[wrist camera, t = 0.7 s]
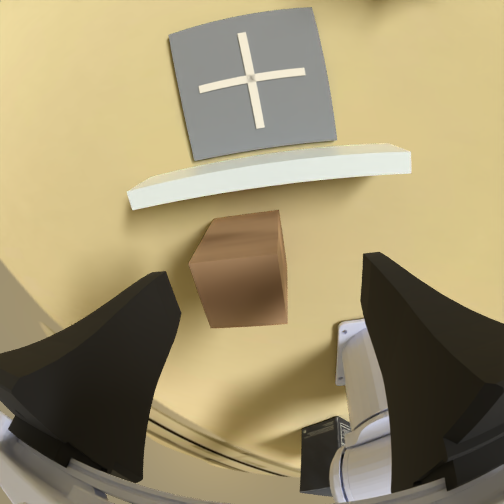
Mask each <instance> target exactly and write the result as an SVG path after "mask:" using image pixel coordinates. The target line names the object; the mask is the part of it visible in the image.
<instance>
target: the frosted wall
mask: <svg viewBox="0 0 504 504" xmlns="http://www.w3.org/2000/svg"><path fill="white" fill-rule="evenodd" d="M408 173H411V152H410V151H408V150H405V149H403V148H400V147H397V146H395V145H392V144H389V143H375V144H356V145H341V146H329V147H318V148H308V149H299V150H291V151H283V152H275V153H268V154H261V155H255V156H249V157H242V158H237V159H231V160H225V161H220V162H215V163H210V164H205V165H200V166H195V167H190V168H186V169H181V170H177V171H172V172H168V173H164V174H160V175H156V176H152V177H150V178H148V179H146V180H145V181H143V182H141V183H140V184H138V185H137V186H135V187H133V188H132V189H130V190H129V191H127V194H128V198H129V201H130V204H131V207H132V210H136V209H141V208H146V207H150V206H155V205H160V204H165V203H170V202H175V201H180V200H186V199H191V198H197V197H202V196H208V195H214V194H220V193H226V192H232V191H239V190H245V189H252V188H259V187H266V186H274V185H282V184H290V183H298V182H307V181H316V180H326V179H336V178H347V177H359V176H373V175H388V174H408Z"/></svg>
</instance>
